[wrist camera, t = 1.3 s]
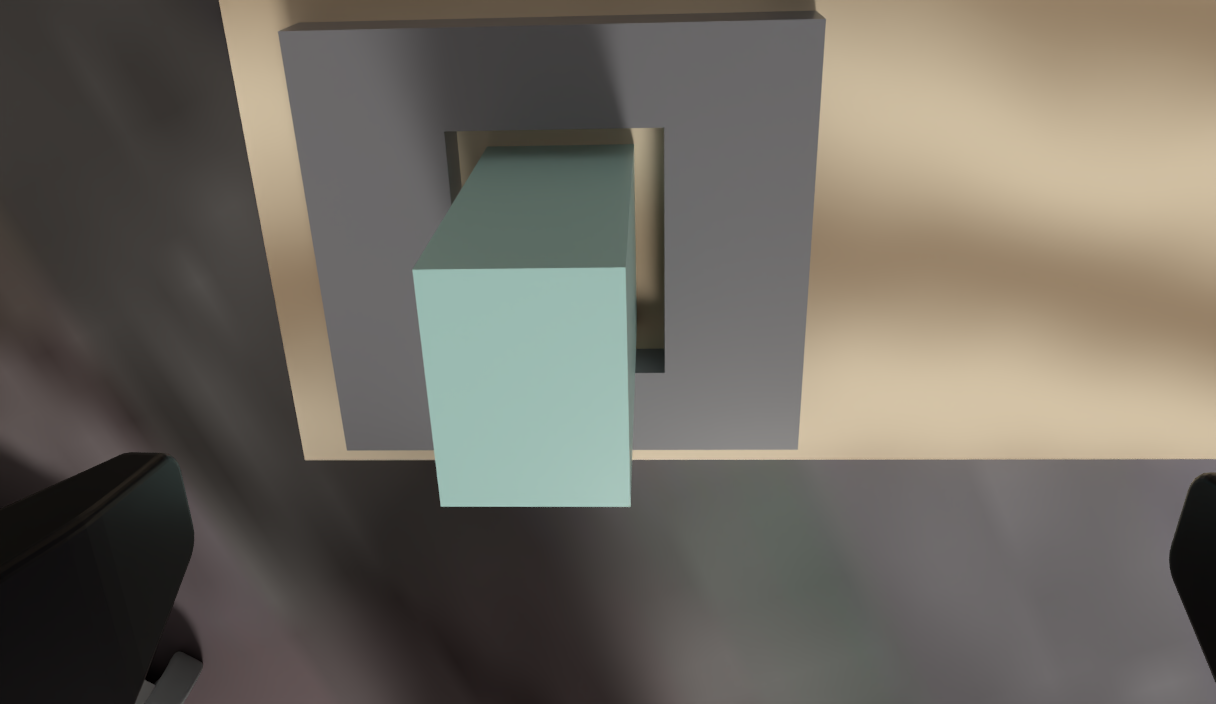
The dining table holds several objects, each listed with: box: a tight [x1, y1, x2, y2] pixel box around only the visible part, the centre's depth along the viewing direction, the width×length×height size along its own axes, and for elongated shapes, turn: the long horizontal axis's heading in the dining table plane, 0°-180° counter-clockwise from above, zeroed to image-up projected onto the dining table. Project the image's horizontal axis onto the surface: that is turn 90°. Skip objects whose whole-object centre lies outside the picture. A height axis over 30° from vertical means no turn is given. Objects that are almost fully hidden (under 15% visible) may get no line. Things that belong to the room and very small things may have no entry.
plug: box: [412, 144, 637, 507], centre depth 18 cm, size 4×3×7 cm
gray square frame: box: [278, 11, 826, 451], centre depth 20 cm, size 9×10×1 cm
